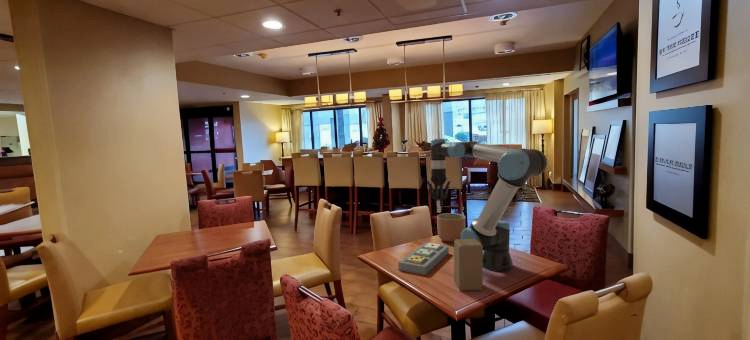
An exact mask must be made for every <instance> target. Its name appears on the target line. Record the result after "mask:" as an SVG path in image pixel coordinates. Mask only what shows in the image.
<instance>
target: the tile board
mask: <svg viewBox="0 0 750 340" xmlns="http://www.w3.org/2000/svg"><path fill="white" fill-rule="evenodd" d="M428 243H429V242H424V243H422V245H420V246H419V247H417V248H416V249H414V250H413V251H412V252H411V253H409V254H407V255H405V257H404V258H401V260H399V261H398V271H400V272H401V271H402V272H407V273H412V274H417V275H422V276H426V275H427V274H428V273H429V272H431V270H433V269H434V267H436V266H437V265H438V264H439V263H440V262H441V261H442V260H443V259H444V258H446V256H447V255H449V245H442V244H441V250H440V251H435V250H434V256H433V257H431V258H430V257H426V263H425V264H423V265H420V264H415V263H409V262H407V259H408V258H410V257H411V256H412V255H416V252H417V251H419V250H420V249H424V246H425V245H427V244H428ZM416 256H418V255H416ZM422 257H424V256H422ZM436 264H437V265H436Z"/></svg>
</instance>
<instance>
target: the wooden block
mask: <svg viewBox="0 0 750 340" xmlns="http://www.w3.org/2000/svg"><path fill="white" fill-rule="evenodd" d="M483 252H484V250H483V246H482V244H480V243H479V242H478V241H477V240H476V239H456V240H455V241H454V243H453V270H454V271H453V281H454V284H455V285H456V287H457V288H458V290H459V291H460V292H466V291H467V292H470V291H472V292H473V291H481V290H483V272H484V271H483V269H484V267H483Z"/></svg>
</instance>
